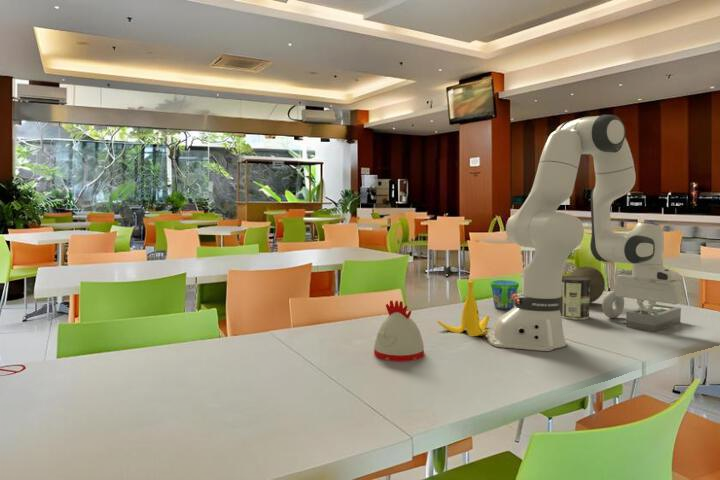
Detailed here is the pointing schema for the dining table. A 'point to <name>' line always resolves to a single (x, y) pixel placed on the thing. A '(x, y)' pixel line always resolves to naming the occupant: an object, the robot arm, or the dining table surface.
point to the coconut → (592, 281)
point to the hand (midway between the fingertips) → (645, 313)
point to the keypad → (653, 318)
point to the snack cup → (504, 293)
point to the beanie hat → (398, 336)
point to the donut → (608, 306)
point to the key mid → (657, 309)
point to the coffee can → (575, 297)
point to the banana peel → (470, 317)
